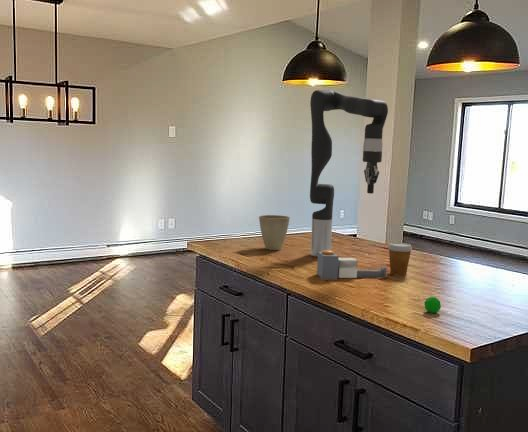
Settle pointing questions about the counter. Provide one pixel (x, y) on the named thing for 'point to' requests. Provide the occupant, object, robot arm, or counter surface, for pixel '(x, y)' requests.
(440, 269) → the counter surface
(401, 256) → the disposable coffee cup
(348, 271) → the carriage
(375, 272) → the rail
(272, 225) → the plant pot
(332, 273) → the grey hollow block
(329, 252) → the plunger
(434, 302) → the polyhedron
